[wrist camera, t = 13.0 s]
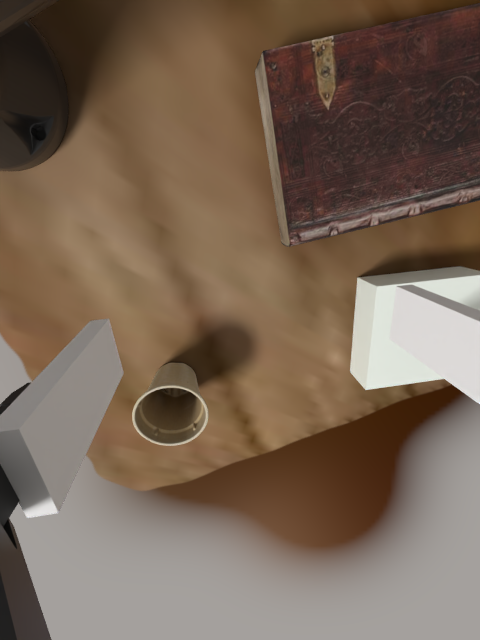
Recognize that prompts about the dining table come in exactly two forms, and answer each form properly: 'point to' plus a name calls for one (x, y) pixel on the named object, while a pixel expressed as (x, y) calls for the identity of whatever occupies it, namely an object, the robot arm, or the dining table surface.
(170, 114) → the dining table surface
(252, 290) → the dining table surface
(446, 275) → the bore block
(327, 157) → the hardback book
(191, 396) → the flower pot
